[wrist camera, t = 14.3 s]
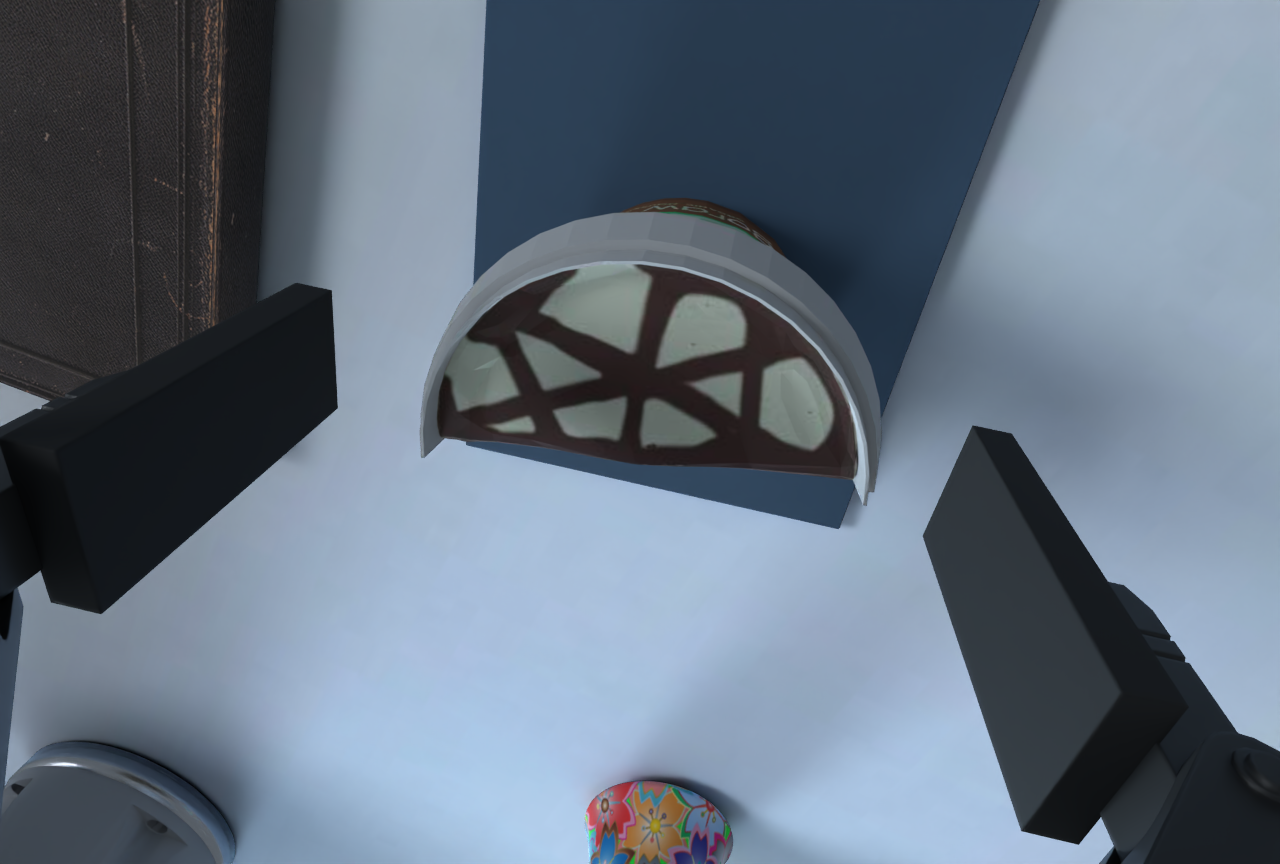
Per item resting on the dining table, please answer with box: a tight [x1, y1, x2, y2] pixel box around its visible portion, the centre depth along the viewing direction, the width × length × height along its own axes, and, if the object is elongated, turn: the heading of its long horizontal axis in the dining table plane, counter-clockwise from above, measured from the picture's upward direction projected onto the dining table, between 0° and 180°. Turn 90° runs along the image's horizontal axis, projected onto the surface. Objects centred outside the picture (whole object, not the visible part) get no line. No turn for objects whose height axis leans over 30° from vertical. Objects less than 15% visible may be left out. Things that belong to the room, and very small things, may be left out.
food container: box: [420, 198, 882, 506], centre depth 21 cm, size 12×6×10 cm, turn 89°
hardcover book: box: [0, 0, 275, 401], centre depth 26 cm, size 16×23×2 cm
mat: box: [466, 0, 1040, 529], centre depth 25 cm, size 16×20×1 cm
